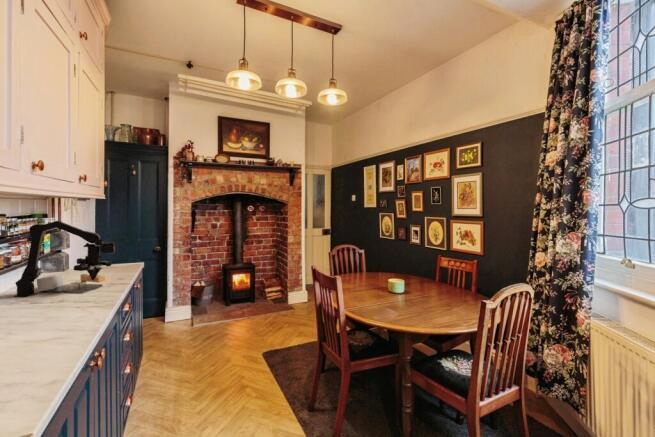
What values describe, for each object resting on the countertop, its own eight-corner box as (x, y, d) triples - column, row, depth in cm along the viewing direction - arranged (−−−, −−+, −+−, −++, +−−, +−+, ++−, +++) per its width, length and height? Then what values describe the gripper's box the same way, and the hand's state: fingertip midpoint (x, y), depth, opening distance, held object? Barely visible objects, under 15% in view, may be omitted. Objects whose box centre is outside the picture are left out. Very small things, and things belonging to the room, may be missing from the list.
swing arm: (78, 280, 183) (78, 275, 183) (85, 278, 187) (85, 273, 186) (98, 282, 179) (98, 277, 179) (105, 281, 183) (105, 275, 183)
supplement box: (47, 275, 181) (36, 278, 169) (62, 273, 183) (52, 276, 172) (48, 287, 181) (37, 291, 169) (64, 285, 183) (54, 289, 172)
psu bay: (82, 293, 171) (82, 286, 170) (46, 292, 170) (46, 285, 170) (102, 286, 187) (102, 279, 186) (70, 285, 186) (70, 279, 186)
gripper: (98, 251, 189) (97, 275, 190) (66, 255, 171) (65, 282, 172) (112, 252, 187) (111, 277, 187) (81, 256, 169) (80, 283, 169)
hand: (92, 279), depth 179 cm, fingers closed
